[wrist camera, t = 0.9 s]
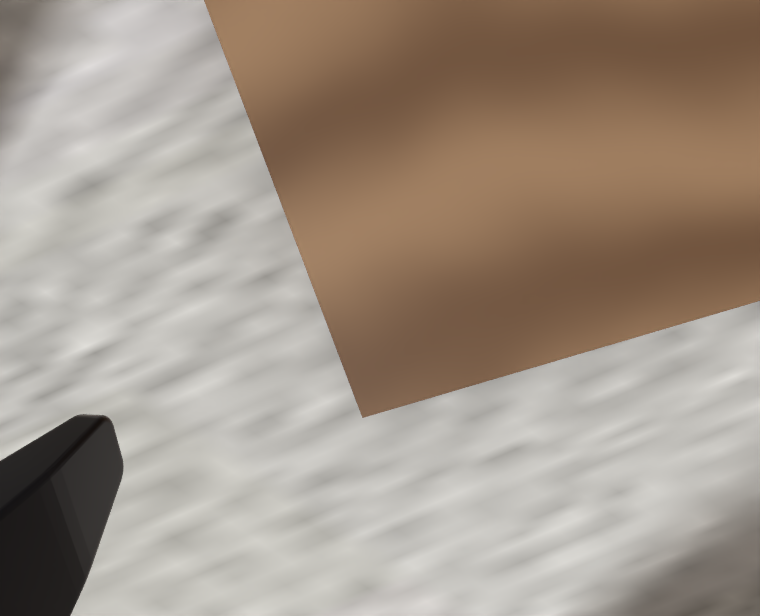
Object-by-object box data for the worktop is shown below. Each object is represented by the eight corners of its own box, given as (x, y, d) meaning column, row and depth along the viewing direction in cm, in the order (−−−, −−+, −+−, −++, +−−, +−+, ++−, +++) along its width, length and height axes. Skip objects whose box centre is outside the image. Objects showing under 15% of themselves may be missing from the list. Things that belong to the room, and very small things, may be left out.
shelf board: (870, 244, 21) (910, 256, 19) (370, 395, 24) (362, 417, 22) (743, -343, 18) (777, -400, 16) (187, -92, 21) (160, -115, 19)
